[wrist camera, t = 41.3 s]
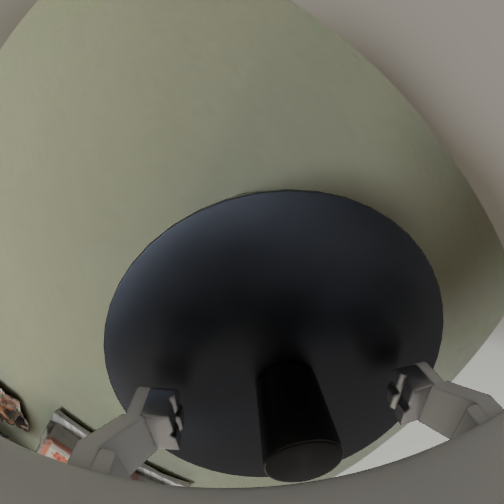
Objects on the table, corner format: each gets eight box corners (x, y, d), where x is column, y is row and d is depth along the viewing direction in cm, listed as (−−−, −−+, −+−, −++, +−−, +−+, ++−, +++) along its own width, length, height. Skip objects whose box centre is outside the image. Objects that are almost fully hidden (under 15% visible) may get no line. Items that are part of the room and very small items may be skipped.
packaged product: (29, 458, 19) (40, 432, 18) (43, 435, 24) (58, 404, 23) (151, 525, 23) (188, 512, 21) (156, 500, 27) (192, 481, 26)
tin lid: (446, 193, 10) (540, 209, 5) (392, 438, 14) (423, 497, 9) (87, 202, 10) (-8, 223, 5) (154, 459, 13) (139, 527, 8)
